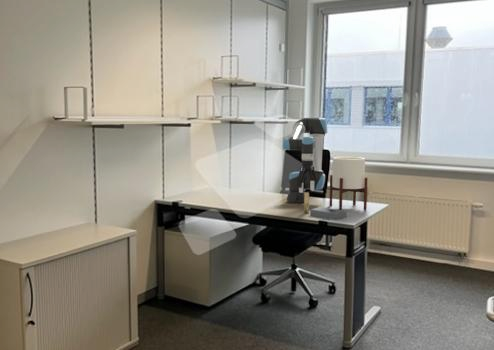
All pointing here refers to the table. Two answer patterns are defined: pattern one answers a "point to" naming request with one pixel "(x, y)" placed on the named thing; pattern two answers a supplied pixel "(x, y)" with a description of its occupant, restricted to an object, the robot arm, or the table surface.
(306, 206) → the brass peg
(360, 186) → the plant pot with stand
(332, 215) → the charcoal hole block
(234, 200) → the table surface
